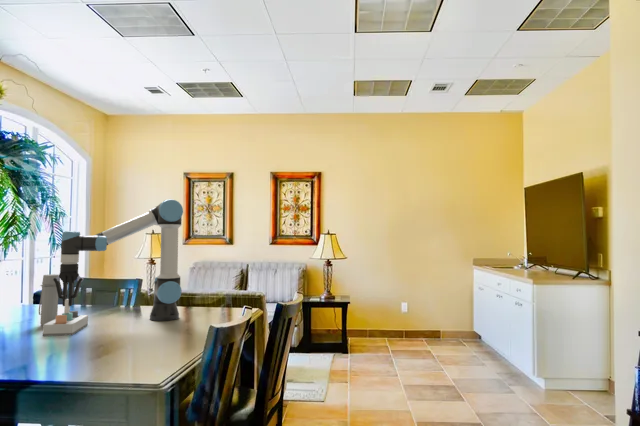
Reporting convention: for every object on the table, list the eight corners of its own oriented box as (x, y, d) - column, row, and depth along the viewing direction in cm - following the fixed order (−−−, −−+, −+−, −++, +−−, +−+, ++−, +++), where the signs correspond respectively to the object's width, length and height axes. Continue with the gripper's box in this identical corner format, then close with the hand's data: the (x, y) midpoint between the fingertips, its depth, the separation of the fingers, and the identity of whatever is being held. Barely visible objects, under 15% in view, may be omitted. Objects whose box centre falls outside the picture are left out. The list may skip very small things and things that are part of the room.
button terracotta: (67, 325, 199) (68, 314, 200) (64, 327, 195) (64, 316, 195) (57, 325, 198) (57, 314, 199) (53, 327, 194) (54, 316, 194)
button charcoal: (78, 320, 214) (79, 310, 214) (75, 322, 210) (76, 312, 210) (69, 321, 213) (69, 311, 213) (65, 322, 209) (66, 312, 209)
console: (87, 325, 216) (88, 315, 216) (72, 335, 194) (72, 324, 195) (61, 325, 213) (61, 315, 214) (42, 336, 192) (43, 324, 192)
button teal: (73, 323, 207) (74, 312, 207) (70, 324, 202) (70, 314, 203) (63, 323, 206) (63, 312, 206) (60, 325, 202) (60, 314, 202)
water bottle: (60, 323, 219) (63, 274, 220) (49, 326, 211) (52, 275, 213) (44, 322, 220) (46, 274, 221) (32, 326, 212) (35, 275, 214)
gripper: (86, 262, 211) (84, 311, 209) (57, 262, 208) (55, 311, 207) (81, 263, 203) (79, 314, 202) (51, 263, 201) (48, 314, 199)
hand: (67, 312), depth 204 cm, fingers closed
